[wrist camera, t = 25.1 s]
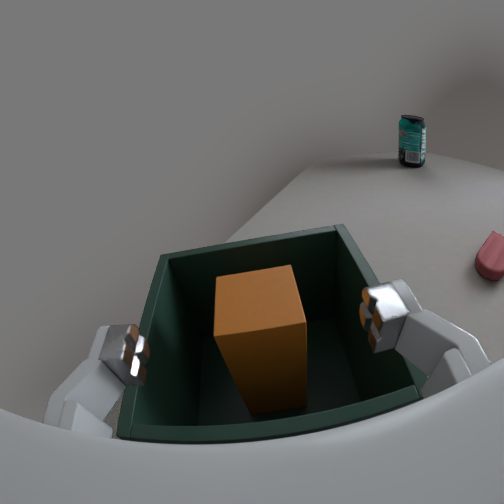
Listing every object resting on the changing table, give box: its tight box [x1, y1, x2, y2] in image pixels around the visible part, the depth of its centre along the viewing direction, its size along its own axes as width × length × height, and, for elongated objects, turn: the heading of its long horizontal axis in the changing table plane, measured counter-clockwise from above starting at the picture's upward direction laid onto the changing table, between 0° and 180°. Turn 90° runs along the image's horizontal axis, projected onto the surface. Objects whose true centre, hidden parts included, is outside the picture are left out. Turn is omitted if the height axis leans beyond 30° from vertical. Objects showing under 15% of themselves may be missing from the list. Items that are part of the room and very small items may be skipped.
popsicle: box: [475, 231, 504, 280], centre depth 28 cm, size 5×2×15 cm
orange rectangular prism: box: [214, 265, 307, 415], centre depth 18 cm, size 4×4×11 cm
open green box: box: [116, 224, 428, 445], centre depth 18 cm, size 15×15×11 cm
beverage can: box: [398, 115, 426, 167], centre depth 55 cm, size 7×7×12 cm
